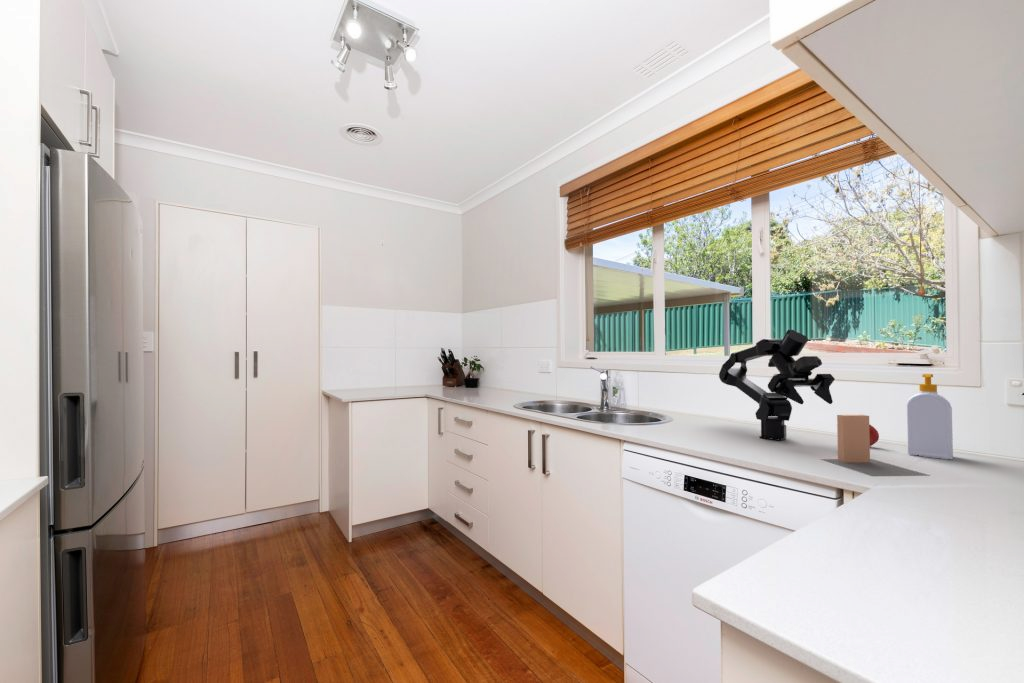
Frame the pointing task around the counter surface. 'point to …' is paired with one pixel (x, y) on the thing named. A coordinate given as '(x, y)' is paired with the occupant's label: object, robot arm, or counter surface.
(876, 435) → the onion
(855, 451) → the terracotta block
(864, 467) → the charcoal mat
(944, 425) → the soap bottle
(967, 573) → the counter surface
